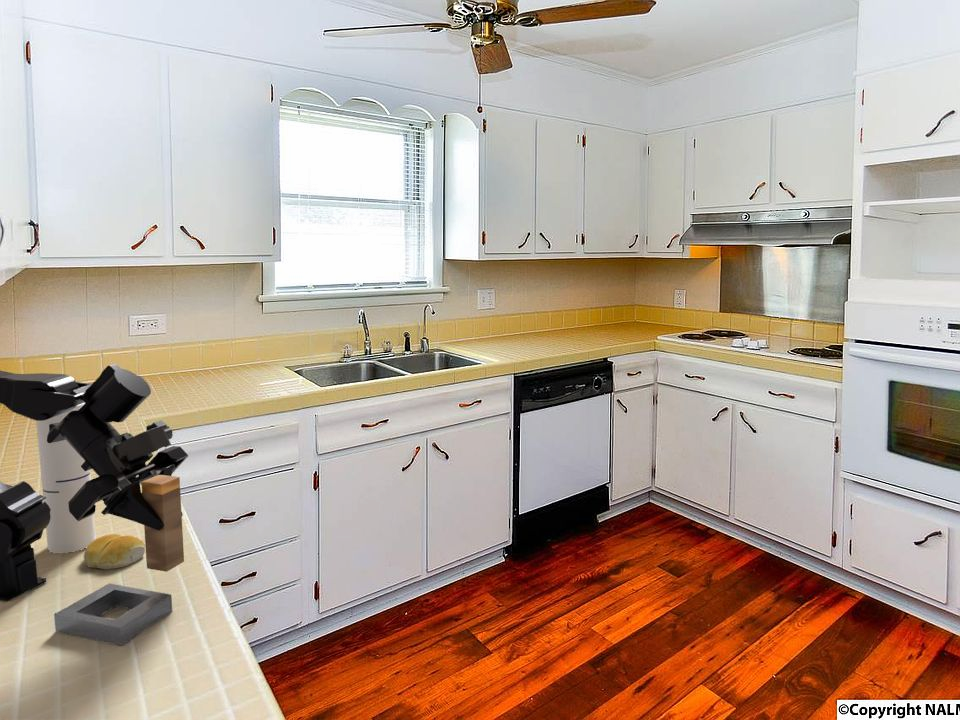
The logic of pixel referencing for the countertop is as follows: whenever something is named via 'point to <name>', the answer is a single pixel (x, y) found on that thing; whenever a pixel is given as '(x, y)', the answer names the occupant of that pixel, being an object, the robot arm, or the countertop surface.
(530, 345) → the countertop surface
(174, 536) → the walnut pin
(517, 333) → the countertop surface
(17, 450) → the countertop surface
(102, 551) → the bread roll
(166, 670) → the countertop surface
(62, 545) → the cylindrical container
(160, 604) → the grey rectangular frame
